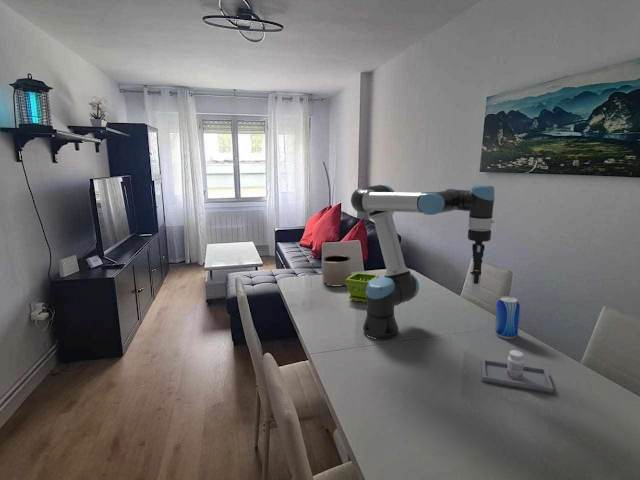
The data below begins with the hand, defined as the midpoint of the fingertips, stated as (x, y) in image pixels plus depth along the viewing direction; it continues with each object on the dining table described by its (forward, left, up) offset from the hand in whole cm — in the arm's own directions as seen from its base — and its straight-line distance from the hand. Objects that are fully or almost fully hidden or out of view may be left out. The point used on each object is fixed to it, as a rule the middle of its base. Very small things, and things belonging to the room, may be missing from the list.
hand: (475, 285), depth 132 cm
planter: (-78, +64, -27) cm, 104 cm away
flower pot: (-55, +41, -27) cm, 74 cm away
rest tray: (+13, -14, -27) cm, 33 cm away
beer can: (+13, +18, -27) cm, 35 cm away
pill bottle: (+13, -14, -26) cm, 33 cm away
